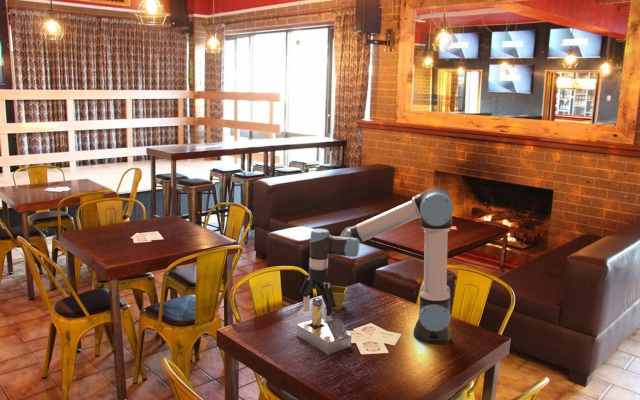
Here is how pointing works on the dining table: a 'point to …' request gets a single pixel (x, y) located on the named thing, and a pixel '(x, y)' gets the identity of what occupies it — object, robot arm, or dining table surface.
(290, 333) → the dining table surface
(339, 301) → the flower pot
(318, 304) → the lynch pin
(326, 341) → the block
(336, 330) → the ring flap
